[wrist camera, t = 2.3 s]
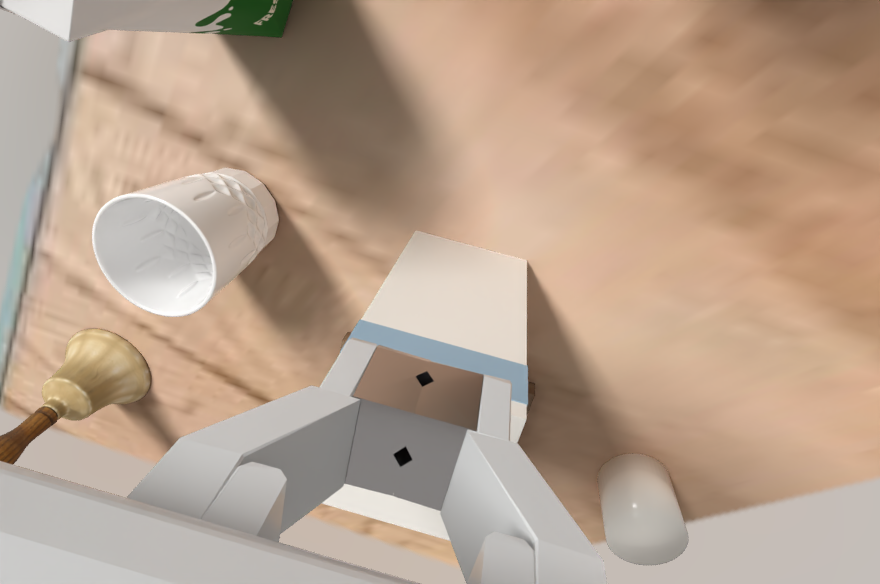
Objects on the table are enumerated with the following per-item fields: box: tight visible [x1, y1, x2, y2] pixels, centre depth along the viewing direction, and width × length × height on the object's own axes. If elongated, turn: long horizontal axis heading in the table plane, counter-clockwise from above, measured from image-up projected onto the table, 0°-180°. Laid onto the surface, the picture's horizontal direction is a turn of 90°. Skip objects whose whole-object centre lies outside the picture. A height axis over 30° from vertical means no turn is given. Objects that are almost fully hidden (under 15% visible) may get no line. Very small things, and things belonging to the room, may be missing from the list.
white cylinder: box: [597, 453, 688, 565], centre depth 42 cm, size 6×6×6 cm
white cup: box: [92, 167, 279, 317], centre depth 35 cm, size 8×8×10 cm
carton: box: [322, 230, 528, 541], centre depth 32 cm, size 9×9×18 cm
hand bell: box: [0, 329, 151, 464], centre depth 41 cm, size 8×8×16 cm
